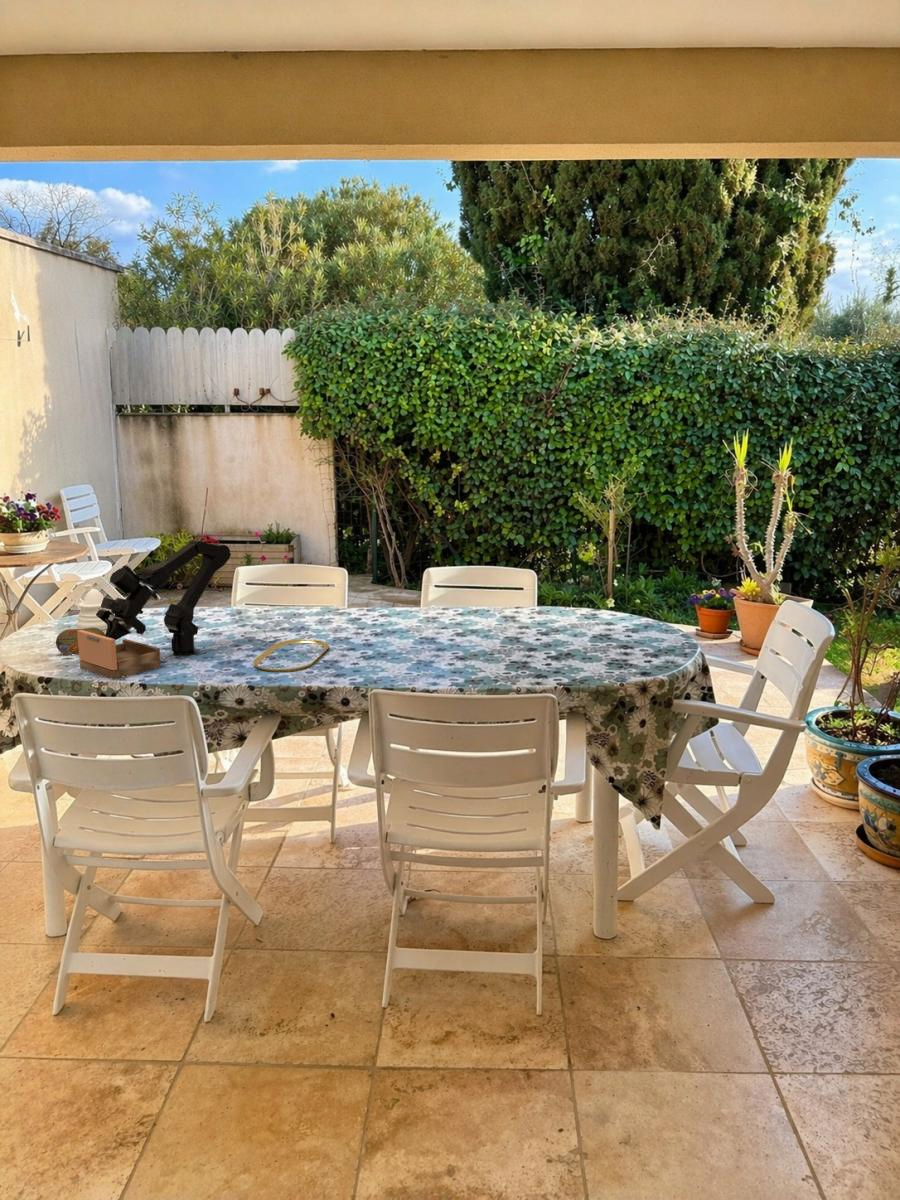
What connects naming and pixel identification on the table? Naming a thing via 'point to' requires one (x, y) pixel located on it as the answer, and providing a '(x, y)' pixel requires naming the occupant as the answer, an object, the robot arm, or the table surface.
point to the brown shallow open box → (128, 660)
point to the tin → (72, 640)
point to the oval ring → (287, 644)
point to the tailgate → (97, 649)
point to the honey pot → (91, 610)
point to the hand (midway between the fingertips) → (104, 644)
